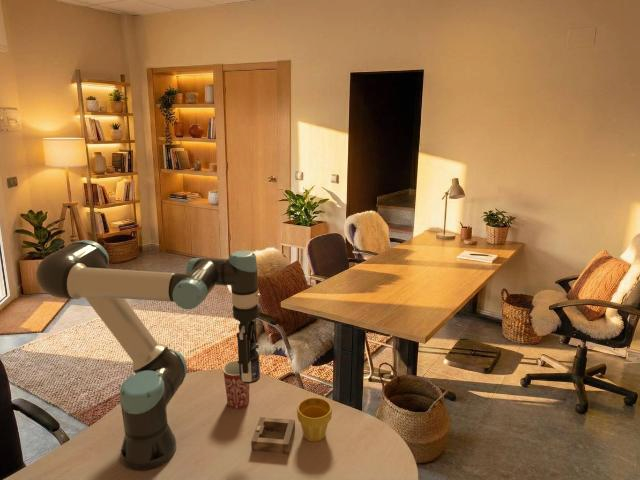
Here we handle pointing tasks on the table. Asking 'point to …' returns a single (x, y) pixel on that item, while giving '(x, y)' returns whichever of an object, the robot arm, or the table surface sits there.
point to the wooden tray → (273, 444)
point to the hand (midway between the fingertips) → (249, 374)
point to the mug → (235, 386)
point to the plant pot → (314, 417)
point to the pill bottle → (253, 365)
